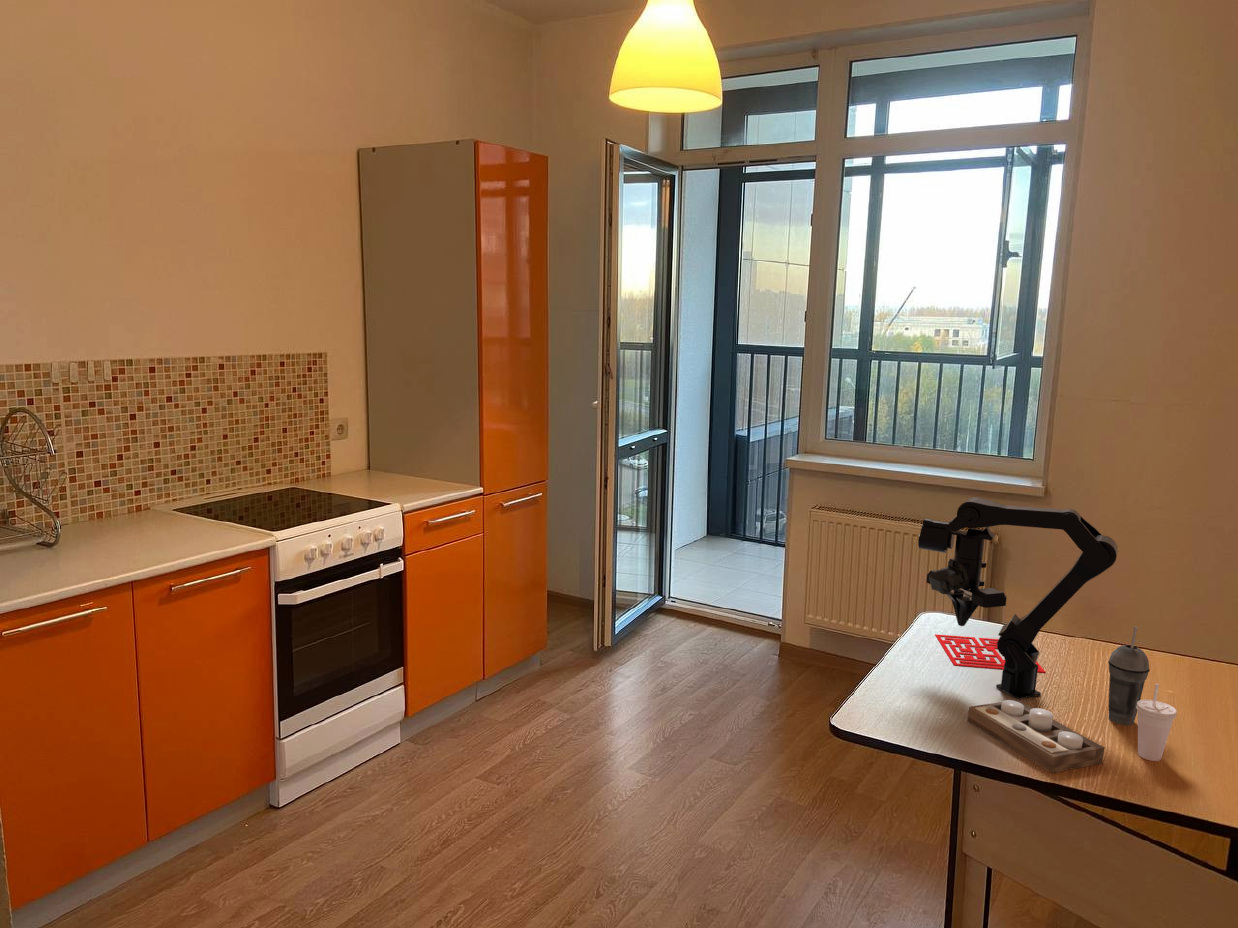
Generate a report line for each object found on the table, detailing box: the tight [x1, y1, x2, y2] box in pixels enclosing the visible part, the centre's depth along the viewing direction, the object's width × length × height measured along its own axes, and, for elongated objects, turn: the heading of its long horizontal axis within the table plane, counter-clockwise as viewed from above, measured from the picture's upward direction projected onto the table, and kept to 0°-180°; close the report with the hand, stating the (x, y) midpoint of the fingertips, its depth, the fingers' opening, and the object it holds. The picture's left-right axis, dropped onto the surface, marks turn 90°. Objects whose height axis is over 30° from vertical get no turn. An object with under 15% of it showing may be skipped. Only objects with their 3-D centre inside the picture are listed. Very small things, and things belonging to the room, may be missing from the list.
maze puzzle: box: [934, 633, 1046, 674], centre depth 216 cm, size 20×20×1 cm
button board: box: [966, 699, 1105, 774], centre depth 171 cm, size 12×21×3 cm, turn 21°
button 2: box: [1057, 731, 1083, 750], centre depth 165 cm, size 4×4×3 cm
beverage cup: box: [1107, 625, 1151, 726], centre depth 181 cm, size 7×7×20 cm
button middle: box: [1028, 707, 1054, 732], centre depth 172 cm, size 4×4×3 cm
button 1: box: [1001, 699, 1024, 717], centre depth 178 cm, size 4×4×3 cm
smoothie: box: [1136, 683, 1178, 762], centre depth 166 cm, size 6×6×14 cm
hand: (961, 625), depth 199 cm, fingers closed
